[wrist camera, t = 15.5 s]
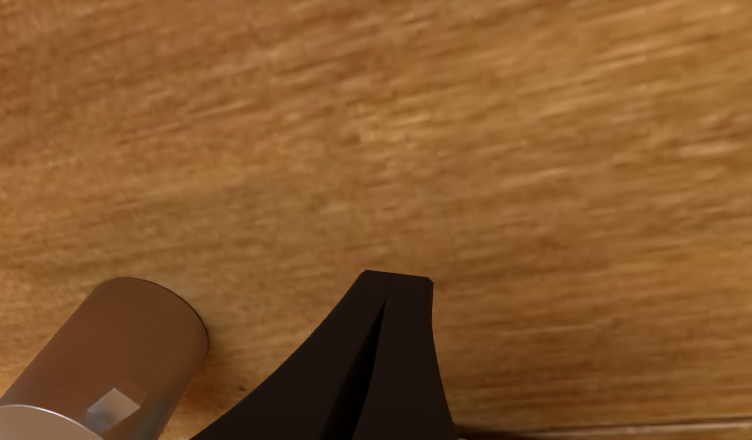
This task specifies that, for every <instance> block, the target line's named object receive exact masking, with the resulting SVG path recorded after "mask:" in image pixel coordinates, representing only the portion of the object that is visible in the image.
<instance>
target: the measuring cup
mask: <svg viewBox="0 0 752 440" xmlns="http://www.w3.org/2000/svg"><path fill="white" fill-rule="evenodd" d="M207 349H208V338H207V334H206V330H205V328H204V326H203V324H202V322H201V320H200V319H199V317H198V316H197V315H196V313H195V312H194V311H193V310H192V309H191V308H190V307H189V306H188V305H187V304H186V303H185V302H184V301H183V300H181V299H180V298H179V297H177V296H176V295H175V294H173V293H171V292H170V291H168V290H166V289H164V288H162V287H160V286H158V285H155V284H153V283H150V282H147V281H143V280H138V279H132V278H117V279H112V280H108V281H105V282H103V283H101V284H100V285H98V286H97V287H96V288H95V289H94V290H93V291H92V292H91V293H90V295H89V296H88V297H87V298H86V299H85V300H84V302H83V303H82V304H81V305H80V306H79V307H78V309H77V310H76V311H75V312H74V313H73V314H72V316H71V317H70V318H69V319H68V320H67V321H66V322H65V324H64V325H63V326H62V327H61V328H60V329H59V331H58V332H57V333H56V334H55V335H54V336H53V338H52V339H51V340H50V341H49V342H48V343H47V345H46V346H45V347H44V348H43V349H42V350H41V352H40V353H39V354H38V355H37V356H36V357H35V359H34V360H33V361H32V362H31V363H30V364H29V366H28V367H27V368H26V369H25V370H24V371H23V373H22V374H21V375H20V376H19V377H18V378H17V380H16V381H15V382H14V383H13V384H12V385H11V387H10V388H9V389H8V390H7V391H6V392H5V394H4V395H3V396H2V397H1V398H0V440H158V439H159V437H160V435H161V433H162V432H163V430H164V428H165V426H166V425H167V423H168V421H169V419H170V418H171V416H172V414H173V412H174V411H175V409H176V407H177V405H178V404H179V402H180V400H181V398H182V397H183V395H184V393H185V391H186V389H187V388H188V386H189V384H190V382H191V381H192V379H193V377H194V375H195V374H196V372H197V370H198V368H199V367H200V365H201V363H202V361H203V360H204V358H205V356H206V353H207Z"/></svg>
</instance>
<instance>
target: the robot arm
mask: <svg viewBox="0 0 752 440" xmlns="http://www.w3.org/2000/svg"><path fill="white" fill-rule="evenodd" d="M432 303H433V282H432V281H431V280H430V279H429V278H428V277H422V276H413V275H405V274H397V273H389V272H381V271H373V270H365V271H364V272H362V273H361V274H360V275H359V277H358V278H357V279H356V281H355V282H354V284H353V285H352V286H351V288H350V289H349V290H348V291H347V293H346V294H345V295H344V297H343V298H342V299H341V300H340V302H339V303H338V304H337V305H336V306H335V308H334V309H333V310H332V311H331V312H330V314H329V315H328V316H327V317H326V318H325V319H324V320H323V322H322V323H321V324H320V325H319V326H318V327H317V328H316V329H315V331H314V332H313V333H312V334H311V335H310V336H309V337H308V338H307V339H306V340H305V342H304V343H303V344H302V345H301V346H300V347H299V348H298V349H297V350H296V351H295V352H294V353H293V354H292V355H291V356H290V357H289V358H288V359H287V360H286V361H285V362H284V363H283V364H282V365H281V366H280V367H279V368H278V369H277V370H276V371H274V372H273V373H272V374H271V375H270V376H269V377H268V378H267V379H266V380H265V381H264V382H262V383H261V384H260V385H259V386H258V387H257V388H256V389H255V390H253V391H252V392H251V393H250V394H249V395H247V396H246V397H245V398H244V399H243V400H241V401H240V402H239V403H238V404H237V405H235V406H234V407H233V408H231V409H230V410H229V411H228V412H226V413H225V414H224V415H222V416H221V417H220V418H218V419H217V420H216V421H214V422H213V423H212V424H210V425H209V426H208V427H207V428H205V429H204V430H202V431H201V432H200V433H198V434H197V435H195V436H194V437H192V438H191V439H190V440H458V437H457V434H456V431H455V428H454V425H453V422H452V418H451V415H450V412H449V408H448V405H447V401H446V397H445V393H444V389H443V385H442V381H441V377H440V372H439V368H438V362H437V357H436V351H435V345H434V339H433V332H432Z"/></svg>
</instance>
